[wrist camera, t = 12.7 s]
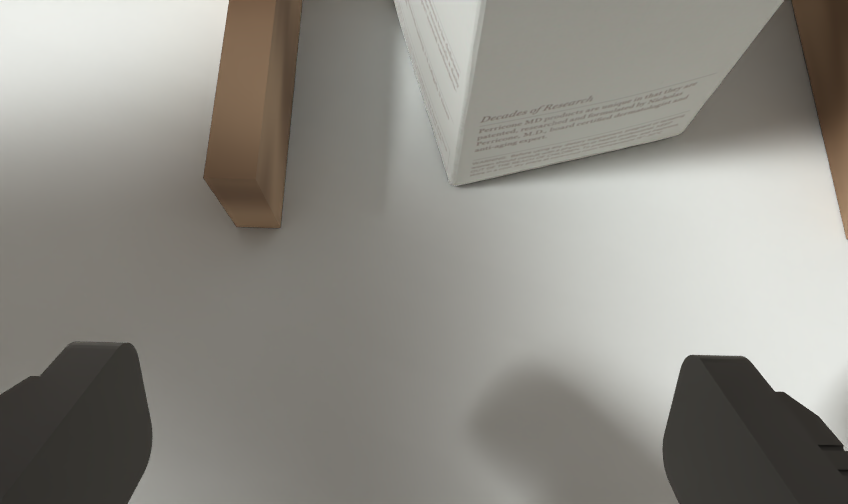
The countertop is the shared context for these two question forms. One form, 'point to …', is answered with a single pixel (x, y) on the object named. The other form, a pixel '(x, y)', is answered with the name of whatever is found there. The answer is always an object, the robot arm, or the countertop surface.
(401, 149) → the countertop surface
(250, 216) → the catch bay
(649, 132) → the supplement box
